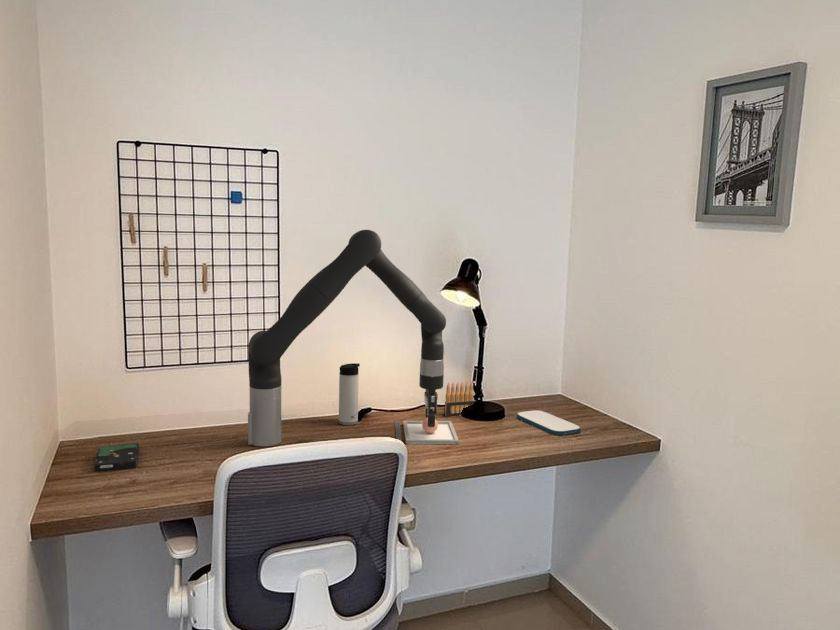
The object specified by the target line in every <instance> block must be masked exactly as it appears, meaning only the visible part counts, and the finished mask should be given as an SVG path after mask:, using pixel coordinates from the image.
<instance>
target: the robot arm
mask: <svg viewBox="0 0 840 630" xmlns="http://www.w3.org/2000/svg"><path fill="white" fill-rule="evenodd" d="M365 267H366V268H367V269H369V270H370V271H371V272H372V273H373V274H374V275H375V276H376V277H377V278H379V280H381V282H382V283H383V284H384V285H385V286H386V288H388V290H389V291H390V292H391V293H392V294H393V296H395V297H396V298H397V300H398V301H399V302H400V303H401V304H402V305H403V307H405V308H406V309H407V310H408V311H409V312H411V314H412V315H413V316H414V317H415V318H416V319H417V321H418V322H419V323H420V332H421V335H420V336H421V350H420V353H421V354H420V361H419V363H420V364H419V383H418V384H419V385H418V386H419V387H420V388H421V389H424V390H425V391H424V392H423V393H424V394H423V395H424V396H423V397H424V399H423V400H424V406H425V418H427V417H428V427H434V426H435V419H436V416H437V414H438V411H437V410H438V409H437V408H438V398H439V397H438V395H439V393H438V392H437V391H436V390H442V389H443V388H444V375H445V374H444V372H445V370H444V369H445V366H444V364H445V362H444V355H445V354H444V350H445V349H444V342H443V330H444V329H446V326H447V320H446V316H445V314H443V312H442V311H441V310H440V309H439V308H438V307H437V306H436V305H434V303H433V302H431V301H430V300H429V299H428V298H427V296H426V294H425V293H424V292H423V291H422V290H421V289H420V287H418V285H416V283H415V282H414V281H413V280H412V279H411V278H410V277H408V275H406V274H405V273H404V272H403V271H402V270H401V269H399V268H398V267H397V265H395V264H394V263H393V262H392V261H391V260H390V258H388V257H387V256H386V254H385V253H384V252H383V250H382V240H381V237H380V235H379V234H378V233H377V232H376V231H374V230H370V229H361V230H358V231H356V232H355V233H354V234H351V236H350V238H349V240H348V244H347V245H346V246H345V248H344V249H343V250H342V251H341V252H340V254H339V255H338V256H337V257H336V258H335V259H333V261H331V262H330V263H328V265H326V266H324V267H323V269H320V271H318V272H317V273H316V274H315V275H314V276H312V278H310V279H309V280H308V282H306V283H305V284H304V285H303V287H301V289H299V291H298V292H297V293H296V294H295V295H294V297H293V298H292V300H291V302H290V303H289V305H288V306H287V308H286V309H285V311H284V312H283V314H282V315H281V316H280V317H279V319H278V320H277V321H276V322H275V323H273V324H272V326H271V327H269V328H268V329H267V330H259V331H258V332H255V333H253V335H252V336H251V337H250V339H249V342H248V348H247V349H248V380H249V384H248V386H249V411H248V413H247V445H248V446H249V445H250V446H255V447H272V446H276V445H279V444H281V442H282V372H281V371H282V370H281V358H282V356H284V354H285V352H286V351H287V350H288V349H289V347H290V346H292V344H293V342H294V341H295V340H296V339H297V338H298V336H299V335H300V334H301V333H302V332H303V331H305V330H306V328H308V327H309V326H310V325H311V324H312V323H313V322H314V321H315V320H316V319H318V317H320V315H322V313H323V312H324V311H325V310H327V308H328V307H329V306H330V305H331V304H332V303H333V302H334V301H335V299H337V297H338V296H339V295H340V294H341V293H342V291H343V290H344V289H345V288H346V287H347V285H348V284H349V282H350V281H351V279H352V278H354V276H355V275H356V274H357V273H359V272H360V271H361V270H363V268H365Z"/></svg>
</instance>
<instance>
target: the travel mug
mask: <svg viewBox="0 0 840 630" xmlns="http://www.w3.org/2000/svg"><path fill="white" fill-rule="evenodd" d="M360 366H361V364H360V363H355V362H354V363H345V364H341V365H340V367H339V374H338V375H339V379H338V381H339V382H338V424H340V425H341V424H342V425H343V426H355V425H358V422H359V419H358V417H359V378H360V377H359V367H360ZM354 424H355V425H354Z"/></svg>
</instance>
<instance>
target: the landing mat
mask: <svg viewBox="0 0 840 630" xmlns="http://www.w3.org/2000/svg"><path fill="white" fill-rule="evenodd" d="M423 421H424V420H402V425H403V426H402V427H403V433H404V441H405V444H406V445H459V444H460V443H459V442H460V441H459V437H458V435H457V432H456V430H455V428H454V424H453V422H452V421H451V420H436V421H437V423H438V428H437V430H436V431H435V432H433V433H427V432H425V431H424V429H423V427H422V423H423ZM394 427H395V429H394V430H395V438H397V439H399V440H403V439H402V433H401V425H400V421H394Z"/></svg>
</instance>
